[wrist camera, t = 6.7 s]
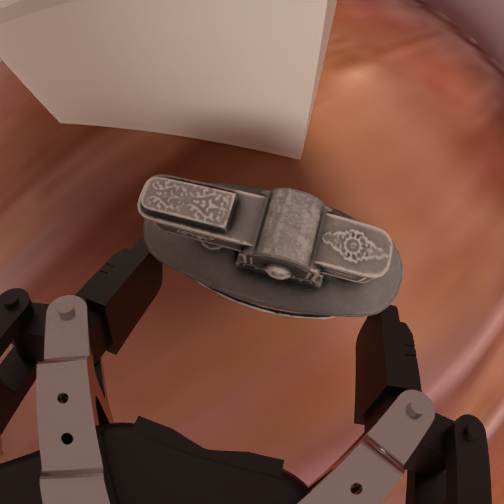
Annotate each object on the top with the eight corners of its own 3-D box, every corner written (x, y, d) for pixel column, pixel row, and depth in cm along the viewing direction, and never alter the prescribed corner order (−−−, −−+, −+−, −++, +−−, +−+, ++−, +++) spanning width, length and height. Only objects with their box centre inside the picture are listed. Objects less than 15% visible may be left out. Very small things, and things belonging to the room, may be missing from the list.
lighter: (352, 267, 16) (449, 198, 7) (337, 331, 16) (430, 339, 6) (205, 229, 17) (137, 122, 7) (186, 290, 17) (86, 245, 7)
